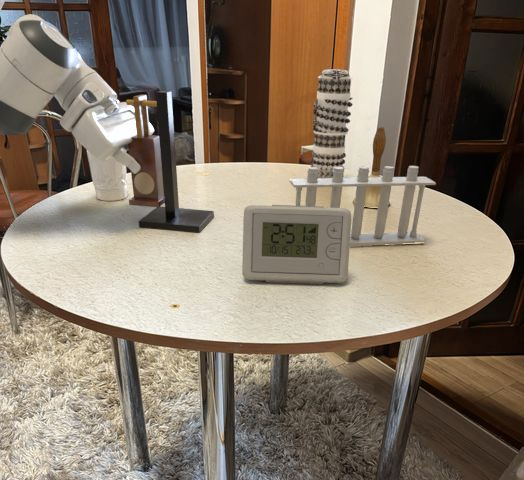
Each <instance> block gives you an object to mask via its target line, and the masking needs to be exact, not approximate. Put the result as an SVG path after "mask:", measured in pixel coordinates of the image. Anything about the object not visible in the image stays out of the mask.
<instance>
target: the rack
mask: <svg viewBox="0 0 524 480" xmlns="http://www.w3.org/2000/svg"><path fill="white" fill-rule="evenodd" d="M172 93H173V92H172V91H171V90H159V91H156V92H155V100H147V101H144V100H142V101H140V103H141V106H148V107H154V108H156V111H157V125H158V136H159V139H160V152H161V164H162V177H163V189H164V202H165V203H164V206H160V207H154V209H152V210H151V211H150V212H148V213H147V214H146V215H145V216H143V217H142V218H141V219H139V220H138V228H143V229H154V230H163V231H164V230H165V231H173V232H174V231H175V232H185V233H196V234H200V233H201V232H202V231H203V229H204V228H205V227H206V226H207V225H208V224H209V223H210V222H211V221H212V220H213V219H214V218H215V211H214V210H207V209H206V210H205V209H194V208H193V209H192V208H183V207H182V208H181V207H180V202H179V189H178V188H179V187H178V173H177V172H178V171H177V157H176V141H175V140H176V139H175V125H174V111H173V95H172ZM125 102H126V104H127V105H132V106H133V107H134V101H133V99H126V101H125Z"/></svg>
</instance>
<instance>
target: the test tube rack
mask: <svg viewBox="0 0 524 480" xmlns="http://www.w3.org/2000/svg"><path fill="white" fill-rule="evenodd" d="M343 167H344V166H343ZM343 167H334V170H333V178H318V168H316V167H311V166H309V167H308V168H307V177H306V178H289V179H288V183H290V185H291V186H292V187H293V188H295V191H296V192H295V195H296V196H295V206H301V201H302V191H303V188H306V189H305V191H306V192H305V193H306V194H305V205H304V206H317V205H316V204H317V203H316V202H317V193H318V192H317V190H318V188H331V194H330V204H329V208H341V201H342V191H343V187H344V188H345V187H346V188H347V187H349V188H350V187H351V188H352V187H353V188H355V187H356V190H355V197H354V198H355V204H354V206H353V213H352V221H351V233H350V248H361V246H363V247H373V246H372V245H385V244H403V243H415V242H426V240H425V239H424V238H423V237H422V236H420V235H419V234H418V233H417V229H418V223H419V219H420V214H421V213H420V212H421V206H422V201H423V197H424V191H425V189H426V186H436V185H437V182H435V181H434V180H432V179H431V178H428V177H427V176H418V175H419V172H420V171H419V168H420V167H419V166H418V165H409V166H408V168H407V173H406V176H394V172H395V170H394V169H395V167H394V166H392V165H386V166H385V165H384V166H383V170H382V176H380V177H372V178H368V176H369V173H370V167H369V166H364V165H363V166H359V167H358V170H357V172H358V173H357V177H343V176H344V175H343V174H344V173H345V167H344V168H343ZM343 170H344V171H343ZM367 186H381V191H380V198H379V205H378V209H377V212H376V220H375V225H374V233H362V229H363V228H362V227H363V220H364V213H365V208H364V205H365V198H366V190H367ZM401 186H404V191H403V196H402V202H401V209H400V214H399V219H398V227H397V232H385V230H386V224H387V217H388V212H389V210H388V209H389V207H388V205H389V202H390V199H391V192H392V187H401ZM416 186H418V188H419V189H418V194H417V199H416V203H415V204H416V205H415V209H414V210H415V211H414V216H413V222H412V227H411V230H410V231H409V232H408V229H409V224H410V218H411V213H412V209H413V201H414V196H415V191H416Z"/></svg>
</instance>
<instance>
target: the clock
mask: <svg viewBox="0 0 524 480" xmlns="http://www.w3.org/2000/svg"><path fill="white" fill-rule="evenodd" d="M132 100H133V101H134V106H133V107H134V111H135V121H136V131H137V135H136V136H133V137H131V138H132V142H131V143H128V149H129V150H128V154H129V155H130V156H131V157H132V158H134V159H137V160H138V161H139V162H140V163H141V164H142V165H143V168H142V169H141V170H140V171H139V172H138V173H135V174H134V173H133V172H132V171H131V170H130V175H131V184H132V192H133V194H132V195H133V196H132V197H131V198H129V199H128V205H129V206H136V207H149V208H156V207H162V205H165V202H164V189H163V177H162V164H161V152H160V139H159V135H155V134H154V135H153V134H152V135H150V129H149V122H150V119H149V109H148V107H149V106H141V103H140V101H142V100H144V101H148V95H147V94H139V95H138V94H137V95H134V96H133V97H132ZM142 122H143V124H142ZM143 132H144V135H143Z"/></svg>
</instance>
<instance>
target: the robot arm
mask: <svg viewBox="0 0 524 480" xmlns="http://www.w3.org/2000/svg"><path fill="white" fill-rule="evenodd" d="M5 2H6V0H0V12H1V10H2V9H3V6H4V4H5ZM7 31H8V32H7V35H6V36H7V37H6V38H5V39H4V41H3V42H2V43H1V44H0V135H3V136H21V135H26V134H28V133H29V132H30V130H31V129H32V127H33V125H34V124H35V123H36V121H37V118H38V117H39V115H40V114H41V112H43V110H44V109H45V108H46V107H47V105H48V104H49V103H50V101H51V100H52V99H53V98H55V99H56V100H57V102H58V104H59V105H60V107H61V109H63V111H64V112H65V113H64V114H63V116H62V117H61V119H60V120H59V124H60V126H61V127H62V129H64V130H65V131H66V132H68V133H72V135H73V137H74V138H75V139H76V141H78V143H79V144H80V145H81V146H82V147H83V148H84V149H85V150H86V151H87V150H88V151H89V152H90V153H91V154H92V155H93V156H94V157H96V158H97V159H99V160H102V161H105V160H107V159H109V158H111V157H113V158H114V159H115V160H116V161H117V162H119V163H121V164H123V165H124V166H126V168H128V169H129V171H130V172H131V171H132V172H133V173H134V174H135V173H138V172H139V171H140V170H141V169H142V168H143V165H142V164H141V163H140V162H139V161H138V160H137V159H134V158H132V157H131V156H130V155H129V153H127V152H128V151H129V149H128V143H131V142H132V138H131V137H133V136H136V135H137V131H136V121H135V111H134V106H133V105H127V104H126V101H120V100H119V99H118V94H117V93H116V91H115V90H114V89H113V88H112V87H111V86H110V85H109V84H108V83H107V82H106V80H104V78H102V76H101V75H100V74H99V73H98V72H97V71H96V70H95V69H93V68H91V67H90V66H89V65H87V63H86V62H85V60H83V58H82V56H81V54H80V53H79V51H77V48H76V46H75V45H74V44H73V43H72V42H71V41H70V40H69V39H68V38H67V37H66V36H65V34H64V33H63V32H62V31H61V30H60V29H59V28H58V27H56V26H55V25H54V24H52V23H50V22H49V21H45V20H44V19H43V18H42V17H41V16H39V15H37V14H33V13H29V14H24V15H22V16H20V17H18V18H17V19H16V20H15V21H14V22H13V23H12V24H11V26H10V27H9V29H8V30H7ZM142 124H143V122H142ZM149 129H150V135H153V134H154V133H155V129H154V126H153V125H152V123H150V121H149ZM143 135H144V132H143Z"/></svg>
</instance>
